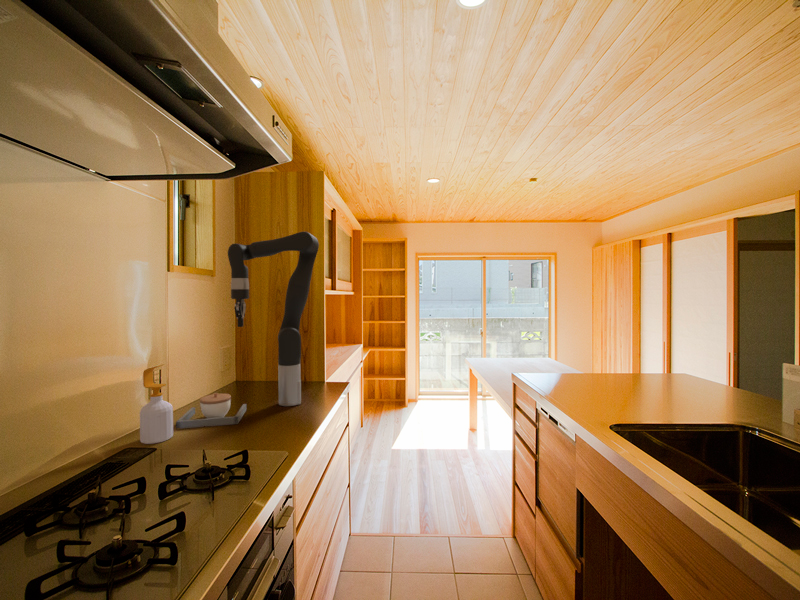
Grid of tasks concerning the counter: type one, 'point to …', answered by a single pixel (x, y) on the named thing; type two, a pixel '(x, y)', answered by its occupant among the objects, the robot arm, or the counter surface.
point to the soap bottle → (155, 413)
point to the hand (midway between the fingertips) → (240, 326)
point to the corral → (208, 419)
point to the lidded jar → (215, 405)
